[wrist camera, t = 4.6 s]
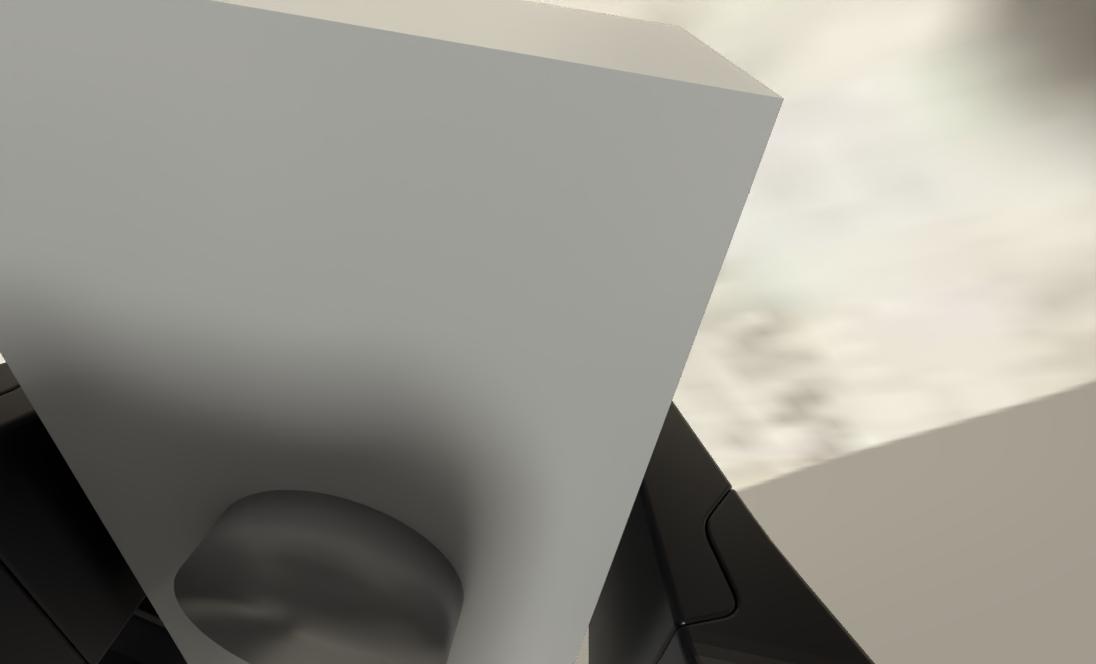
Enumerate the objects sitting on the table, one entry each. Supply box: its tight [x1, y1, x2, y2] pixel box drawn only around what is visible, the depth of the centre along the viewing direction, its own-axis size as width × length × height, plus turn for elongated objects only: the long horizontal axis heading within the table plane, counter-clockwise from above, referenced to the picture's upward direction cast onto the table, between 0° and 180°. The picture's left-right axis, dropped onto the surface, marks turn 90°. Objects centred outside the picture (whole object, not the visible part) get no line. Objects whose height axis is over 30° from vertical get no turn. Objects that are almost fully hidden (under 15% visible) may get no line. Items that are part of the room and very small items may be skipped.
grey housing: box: [0, 0, 784, 664], centre depth 7 cm, size 10×5×7 cm, turn 172°
